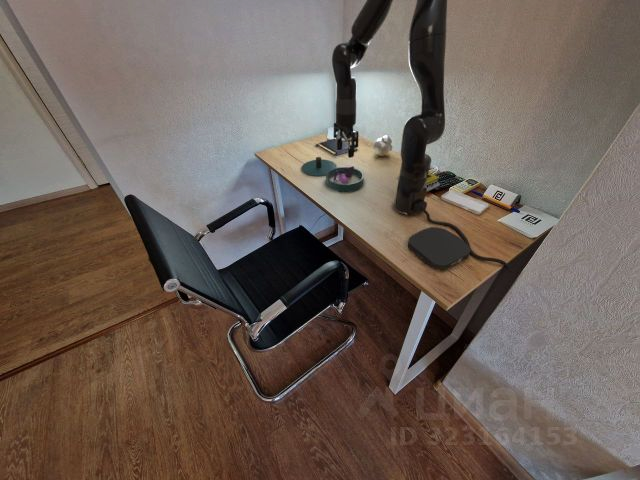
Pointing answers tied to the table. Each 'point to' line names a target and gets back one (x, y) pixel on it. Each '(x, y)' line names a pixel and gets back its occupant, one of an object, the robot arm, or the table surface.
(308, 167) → the tin lid
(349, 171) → the purple monster toy
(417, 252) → the media streaming box
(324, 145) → the dark notebook
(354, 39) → the robot arm
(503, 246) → the table surface
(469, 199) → the phone case
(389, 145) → the ghost figurine
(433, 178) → the emergency button
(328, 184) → the tin
